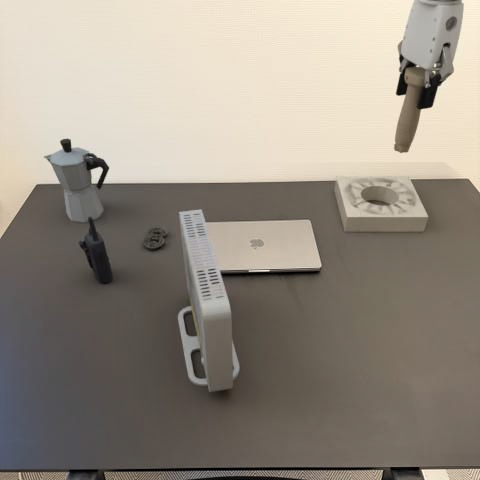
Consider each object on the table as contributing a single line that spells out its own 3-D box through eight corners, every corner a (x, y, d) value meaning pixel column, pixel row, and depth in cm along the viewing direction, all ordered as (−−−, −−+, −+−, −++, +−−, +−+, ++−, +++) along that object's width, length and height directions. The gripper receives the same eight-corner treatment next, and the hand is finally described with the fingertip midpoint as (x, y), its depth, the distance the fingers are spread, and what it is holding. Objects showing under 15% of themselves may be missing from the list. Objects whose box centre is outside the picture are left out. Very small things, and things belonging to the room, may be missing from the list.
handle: (396, 158, 95) (415, 79, 84) (384, 144, 100) (401, 67, 89) (418, 156, 96) (440, 77, 85) (405, 142, 100) (425, 66, 89)
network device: (247, 396, 75) (248, 307, 61) (193, 406, 74) (181, 317, 60) (218, 292, 93) (213, 203, 79) (174, 298, 92) (161, 210, 77)
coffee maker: (52, 220, 111) (27, 147, 98) (68, 200, 117) (46, 129, 104) (112, 226, 109) (95, 152, 96) (125, 206, 115) (110, 134, 102)
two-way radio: (116, 281, 95) (99, 219, 84) (94, 289, 94) (75, 226, 83) (107, 266, 99) (90, 204, 88) (86, 273, 97) (67, 211, 86)
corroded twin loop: (170, 230, 107) (169, 226, 107) (163, 251, 102) (162, 248, 101) (148, 229, 108) (148, 225, 107) (140, 250, 102) (139, 246, 101)
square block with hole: (404, 190, 119) (408, 176, 116) (423, 231, 107) (428, 216, 104) (334, 190, 119) (336, 176, 117) (344, 231, 107) (347, 216, 104)
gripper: (495, -1, 73) (458, 115, 86) (429, -23, 84) (405, 83, 97) (454, 3, 71) (422, 121, 84) (392, -19, 83) (373, 88, 95)
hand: (413, 100), depth 90 cm, fingers closed on handle, 6 cm apart
